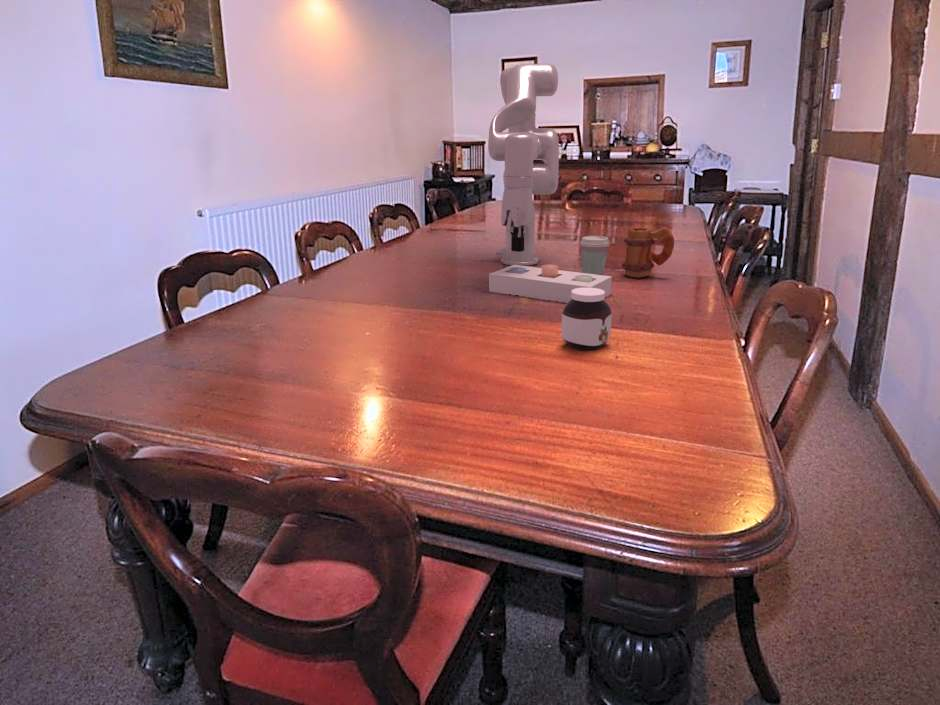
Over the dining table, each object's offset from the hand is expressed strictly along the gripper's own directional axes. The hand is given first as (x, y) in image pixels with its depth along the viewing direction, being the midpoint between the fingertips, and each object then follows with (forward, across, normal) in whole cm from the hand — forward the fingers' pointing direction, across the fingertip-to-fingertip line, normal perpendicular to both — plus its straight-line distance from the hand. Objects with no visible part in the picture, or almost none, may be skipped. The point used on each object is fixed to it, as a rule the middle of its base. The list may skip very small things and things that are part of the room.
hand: (517, 250), depth 182 cm
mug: (+11, -32, +26) cm, 43 cm away
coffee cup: (+11, -23, +13) cm, 28 cm away
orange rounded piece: (+8, 0, +10) cm, 13 cm away
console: (+11, 0, +10) cm, 15 cm away
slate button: (+10, 0, 0) cm, 10 cm away
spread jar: (+10, +34, +35) cm, 50 cm away
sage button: (+10, 0, +20) cm, 22 cm away
